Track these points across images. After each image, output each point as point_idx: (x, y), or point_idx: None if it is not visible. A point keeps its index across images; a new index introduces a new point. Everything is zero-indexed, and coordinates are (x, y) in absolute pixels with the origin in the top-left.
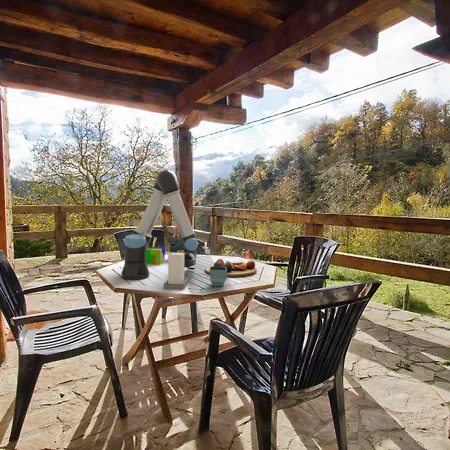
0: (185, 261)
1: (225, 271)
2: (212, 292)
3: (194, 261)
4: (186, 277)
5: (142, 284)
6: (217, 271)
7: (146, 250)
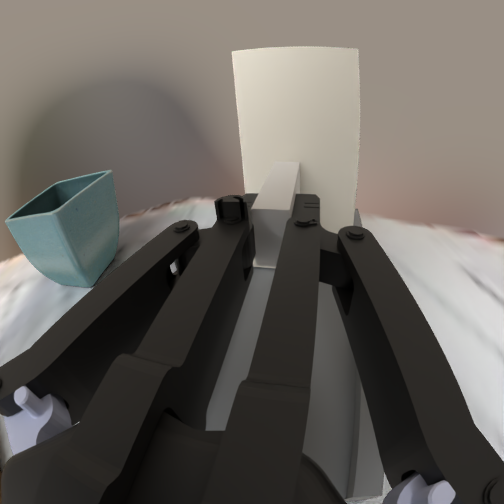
0: (178, 334)
1: (61, 185)
2: (155, 213)
3: (16, 370)
4: (224, 372)
5: (482, 280)
6: (85, 181)
7: None
